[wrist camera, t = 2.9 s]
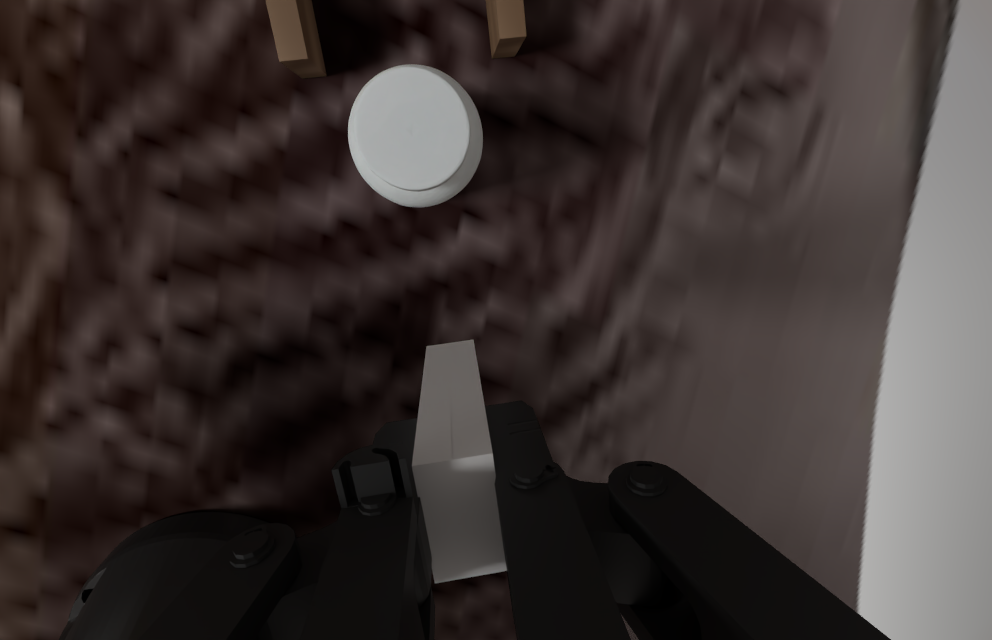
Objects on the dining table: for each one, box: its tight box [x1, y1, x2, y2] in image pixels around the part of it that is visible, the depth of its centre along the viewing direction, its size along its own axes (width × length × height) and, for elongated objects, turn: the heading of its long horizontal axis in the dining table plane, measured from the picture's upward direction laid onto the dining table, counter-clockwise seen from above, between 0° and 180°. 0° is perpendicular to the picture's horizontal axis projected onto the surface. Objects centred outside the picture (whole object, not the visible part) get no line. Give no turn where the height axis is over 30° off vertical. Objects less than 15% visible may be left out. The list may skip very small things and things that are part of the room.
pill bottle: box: [348, 64, 483, 207], centre depth 21 cm, size 5×5×10 cm
